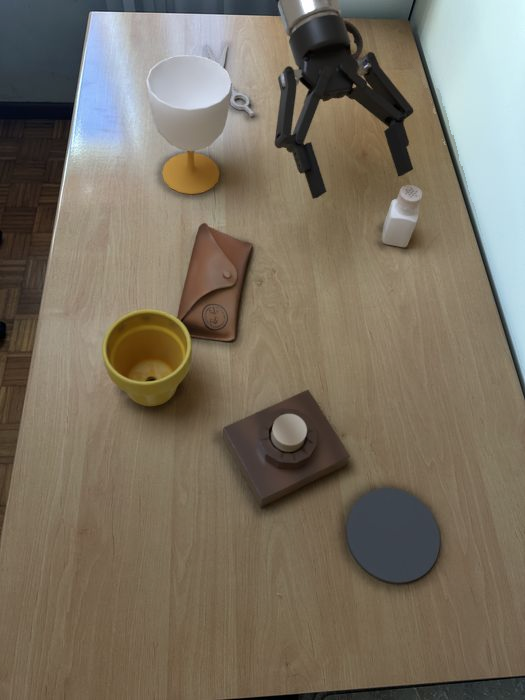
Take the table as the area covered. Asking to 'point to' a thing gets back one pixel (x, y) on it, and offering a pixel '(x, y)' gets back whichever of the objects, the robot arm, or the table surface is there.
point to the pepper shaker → (402, 217)
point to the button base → (278, 466)
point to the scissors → (234, 93)
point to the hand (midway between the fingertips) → (363, 184)
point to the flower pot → (147, 355)
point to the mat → (392, 535)
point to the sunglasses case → (213, 285)
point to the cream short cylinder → (288, 432)
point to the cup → (189, 116)
